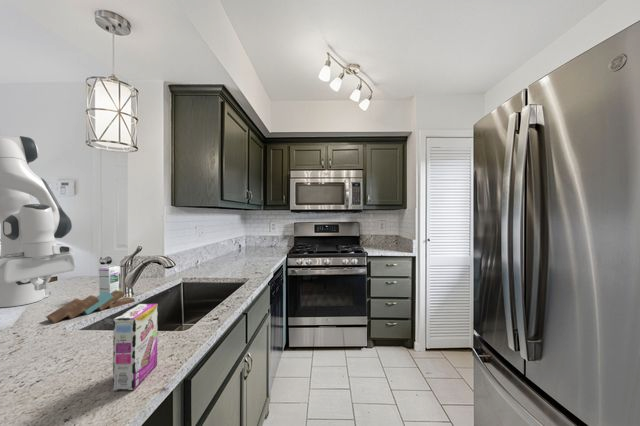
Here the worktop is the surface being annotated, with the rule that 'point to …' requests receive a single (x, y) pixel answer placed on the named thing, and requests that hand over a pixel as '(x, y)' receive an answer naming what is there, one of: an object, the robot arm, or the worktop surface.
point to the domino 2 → (84, 306)
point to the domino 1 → (65, 310)
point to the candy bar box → (134, 346)
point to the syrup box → (109, 279)
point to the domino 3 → (102, 299)
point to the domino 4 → (116, 296)
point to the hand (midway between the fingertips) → (41, 289)
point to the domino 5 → (121, 302)
